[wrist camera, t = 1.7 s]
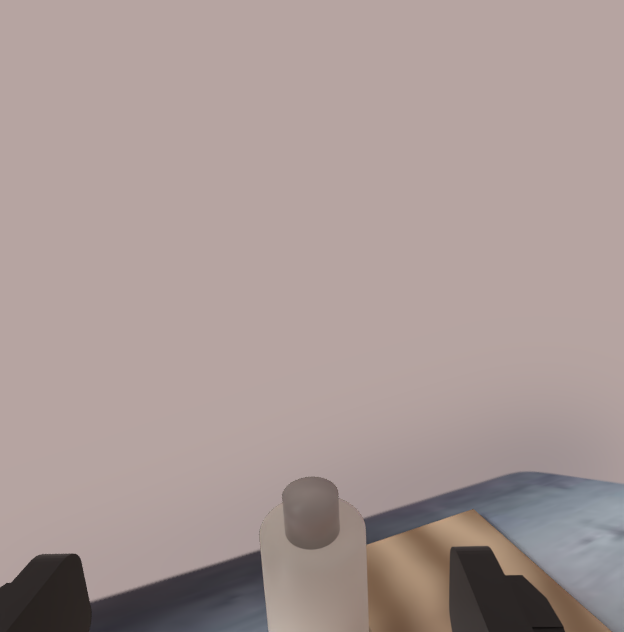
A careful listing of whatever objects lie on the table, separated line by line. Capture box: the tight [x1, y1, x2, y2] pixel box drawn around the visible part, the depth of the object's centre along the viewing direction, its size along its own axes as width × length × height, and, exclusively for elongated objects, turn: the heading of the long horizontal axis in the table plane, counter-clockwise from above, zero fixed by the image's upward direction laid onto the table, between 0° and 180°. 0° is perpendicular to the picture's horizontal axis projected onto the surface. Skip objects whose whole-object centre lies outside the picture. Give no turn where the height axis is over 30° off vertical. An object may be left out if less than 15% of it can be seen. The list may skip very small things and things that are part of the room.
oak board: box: [366, 509, 612, 632], centre depth 31 cm, size 15×15×1 cm
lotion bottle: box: [259, 477, 369, 632], centre depth 22 cm, size 5×5×16 cm
